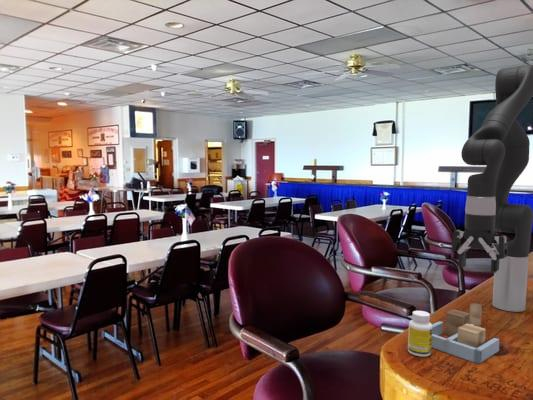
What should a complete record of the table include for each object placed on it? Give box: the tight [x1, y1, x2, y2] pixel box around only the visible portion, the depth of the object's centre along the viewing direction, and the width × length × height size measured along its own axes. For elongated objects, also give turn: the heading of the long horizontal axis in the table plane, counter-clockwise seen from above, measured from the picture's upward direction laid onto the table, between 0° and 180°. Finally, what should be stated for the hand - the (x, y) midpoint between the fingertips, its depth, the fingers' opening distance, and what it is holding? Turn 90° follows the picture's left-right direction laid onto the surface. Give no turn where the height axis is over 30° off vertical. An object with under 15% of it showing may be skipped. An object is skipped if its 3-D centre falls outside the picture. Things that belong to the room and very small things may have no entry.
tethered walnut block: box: [444, 302, 483, 337], centre depth 120 cm, size 14×5×6 cm, turn 130°
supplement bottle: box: [407, 310, 433, 358], centre depth 105 cm, size 5×5×10 cm
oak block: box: [457, 324, 487, 348], centre depth 106 cm, size 5×5×6 cm
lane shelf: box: [431, 321, 500, 365], centre depth 109 cm, size 11×16×3 cm
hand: (477, 269), depth 122 cm, fingers open, 8 cm apart
